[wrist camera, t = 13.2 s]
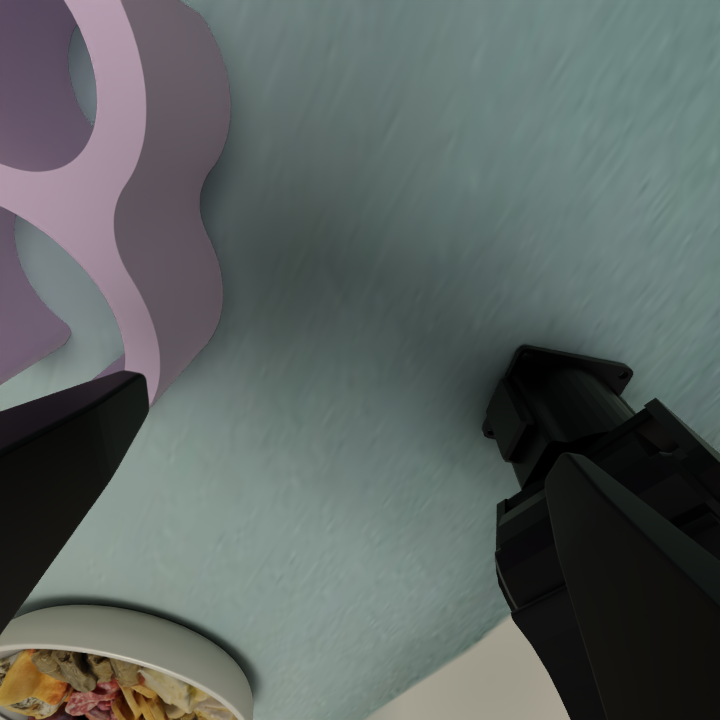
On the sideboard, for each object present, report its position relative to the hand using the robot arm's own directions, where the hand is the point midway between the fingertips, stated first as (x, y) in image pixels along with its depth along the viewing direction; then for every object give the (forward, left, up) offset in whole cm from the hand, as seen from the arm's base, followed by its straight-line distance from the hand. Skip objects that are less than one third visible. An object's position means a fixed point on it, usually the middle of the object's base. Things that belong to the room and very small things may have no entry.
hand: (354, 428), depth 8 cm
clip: (+13, +1, -13) cm, 19 cm away
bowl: (+18, +52, -14) cm, 57 cm away
